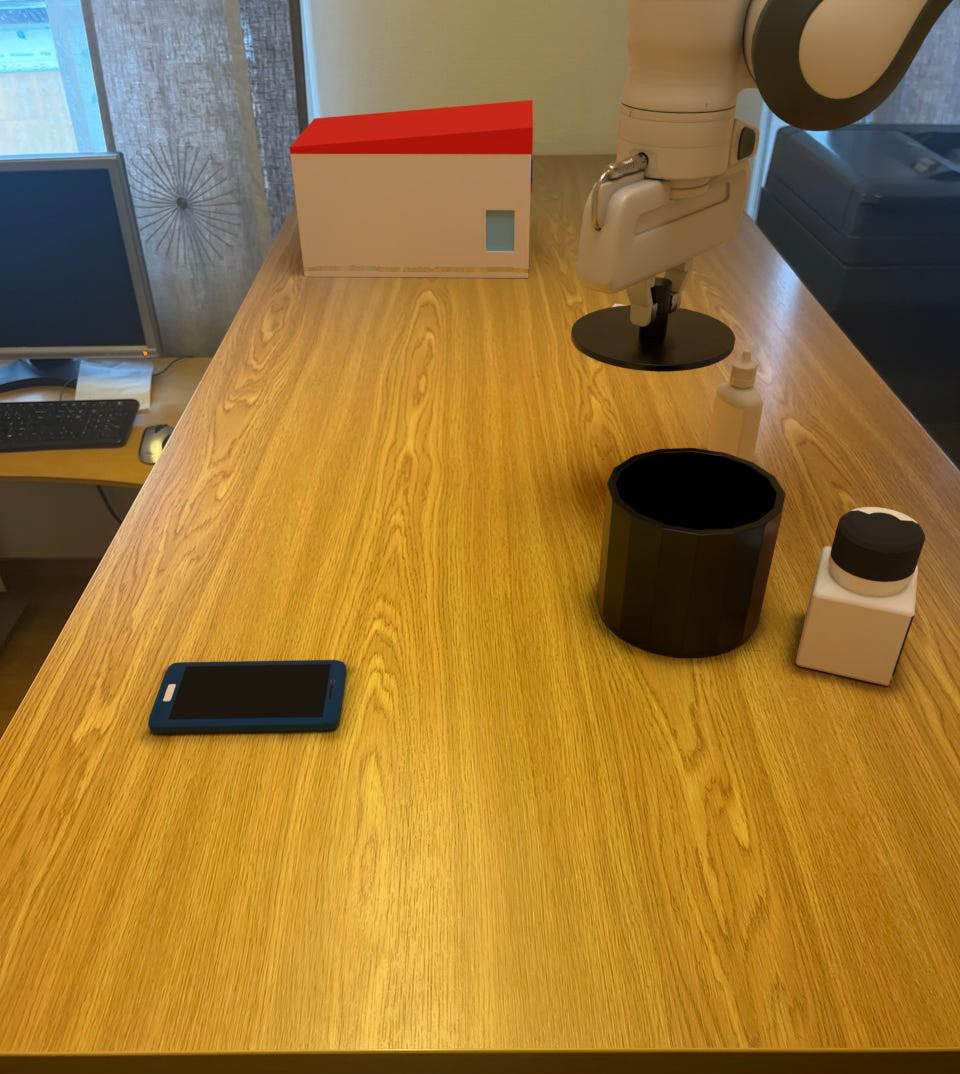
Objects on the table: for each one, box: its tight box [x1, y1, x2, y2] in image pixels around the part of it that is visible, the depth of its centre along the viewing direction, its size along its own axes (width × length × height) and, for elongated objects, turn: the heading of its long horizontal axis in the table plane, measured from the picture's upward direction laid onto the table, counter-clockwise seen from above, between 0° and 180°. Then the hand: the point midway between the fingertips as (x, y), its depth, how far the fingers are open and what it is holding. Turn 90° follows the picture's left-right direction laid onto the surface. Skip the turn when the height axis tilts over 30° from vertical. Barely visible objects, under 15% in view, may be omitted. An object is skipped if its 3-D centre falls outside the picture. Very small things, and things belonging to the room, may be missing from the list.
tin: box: [596, 447, 786, 659], centre depth 79 cm, size 13×13×12 cm
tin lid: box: [570, 276, 736, 373], centre depth 85 cm, size 14×14×6 cm
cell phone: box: [147, 659, 347, 734], centre depth 73 cm, size 7×14×1 cm, turn 91°
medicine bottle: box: [795, 506, 926, 686], centre depth 74 cm, size 7×7×12 cm
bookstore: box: [289, 99, 534, 279], centre depth 152 cm, size 21×35×21 cm, turn 88°
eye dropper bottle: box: [706, 348, 764, 463], centre depth 99 cm, size 4×6×12 cm
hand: (654, 317), depth 86 cm, fingers closed on tin lid, 2 cm apart
